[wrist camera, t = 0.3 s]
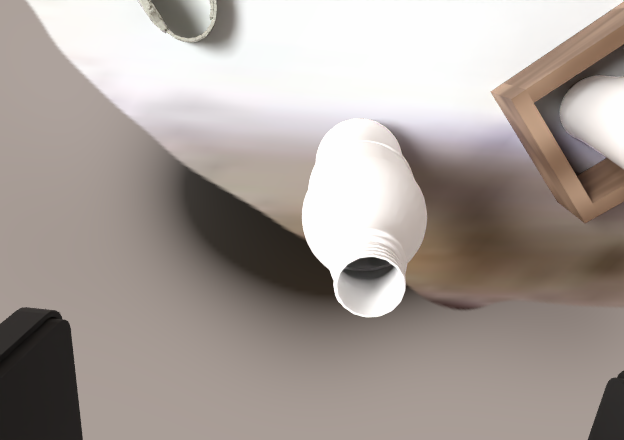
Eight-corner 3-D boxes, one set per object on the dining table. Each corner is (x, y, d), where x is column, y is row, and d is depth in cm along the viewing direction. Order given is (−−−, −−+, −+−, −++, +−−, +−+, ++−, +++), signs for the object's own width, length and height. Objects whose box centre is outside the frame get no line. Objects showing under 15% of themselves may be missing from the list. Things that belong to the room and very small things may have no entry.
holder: (490, 91, 41) (510, 99, 36) (627, -1, 38) (671, -8, 33) (557, 201, 44) (585, 223, 39) (690, 123, 41) (739, 136, 36)
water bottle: (363, 96, 42) (382, 168, 19) (415, 158, 44) (493, 296, 20) (301, 150, 44) (249, 277, 21) (353, 207, 46) (359, 386, 22)
